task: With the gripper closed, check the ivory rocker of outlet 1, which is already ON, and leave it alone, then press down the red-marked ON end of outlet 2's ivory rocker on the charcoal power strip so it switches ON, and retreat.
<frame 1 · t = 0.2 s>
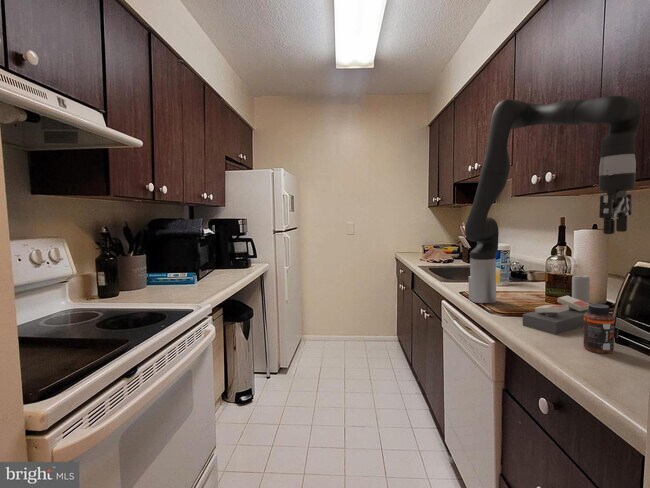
hand: (615, 232, 93), 28 cm above the worktop, tool pointing down, fingers open, 8 cm apart
supplement bottle: (598, 350, 85), on the worktop
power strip: (561, 323, 105), on the worktop
rocker outlet 2: (551, 308, 103), point 5 cm above the worktop, hinge at -13.0°
beverage can: (580, 311, 117), on the worktop
rocker outlet 1: (573, 302, 107), point 5 cm above the worktop, hinge at 13.0°
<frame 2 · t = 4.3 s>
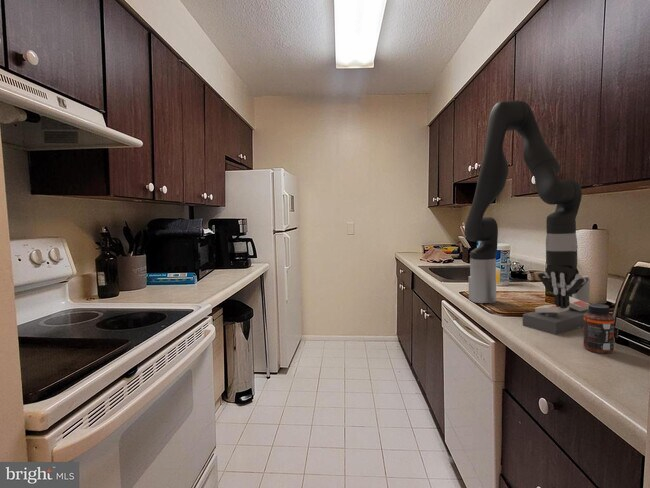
hand: (562, 307, 100), 7 cm above the worktop, tool pointing down, fingers closed
rocker outlet 2: (551, 308, 103), point 5 cm above the worktop, hinge at -12.8°, touching gripper
everything else where it was.
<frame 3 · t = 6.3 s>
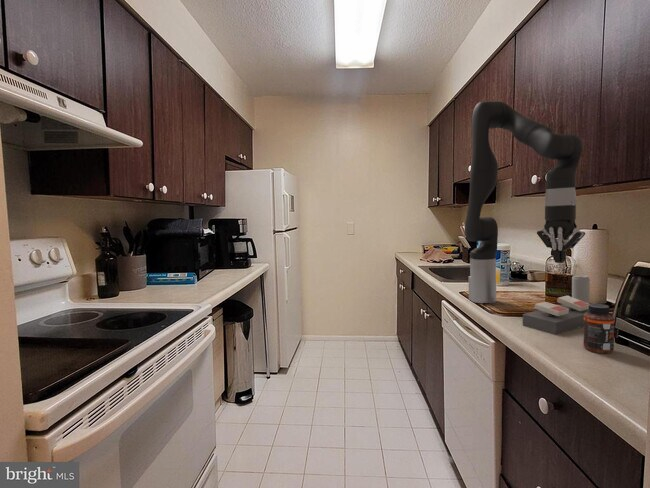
hand: (559, 262, 101), 19 cm above the worktop, tool pointing down, fingers closed
rocker outlet 2: (551, 308, 103), point 5 cm above the worktop, hinge at 6.2°
everything else where it was.
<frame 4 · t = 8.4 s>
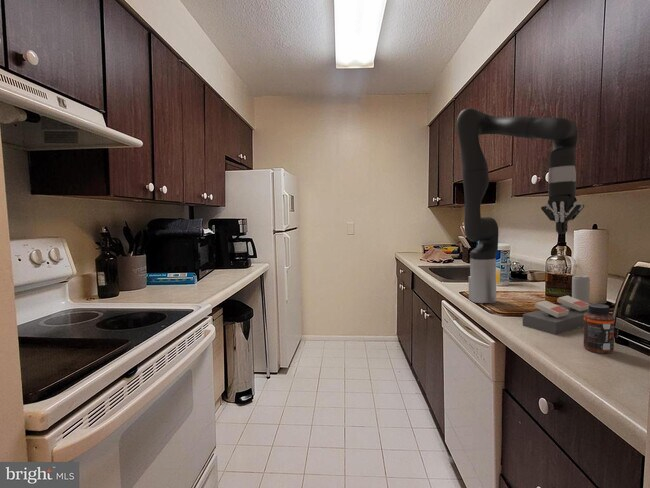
hand: (561, 233, 113), 27 cm above the worktop, tool pointing down, fingers closed
rocker outlet 2: (551, 308, 103), point 5 cm above the worktop, hinge at 13.9°
everything else where it was.
at the end: rocker outlet 2 at +14° (first picture: -13°); rocker outlet 1 at +13° (first picture: +13°) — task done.
